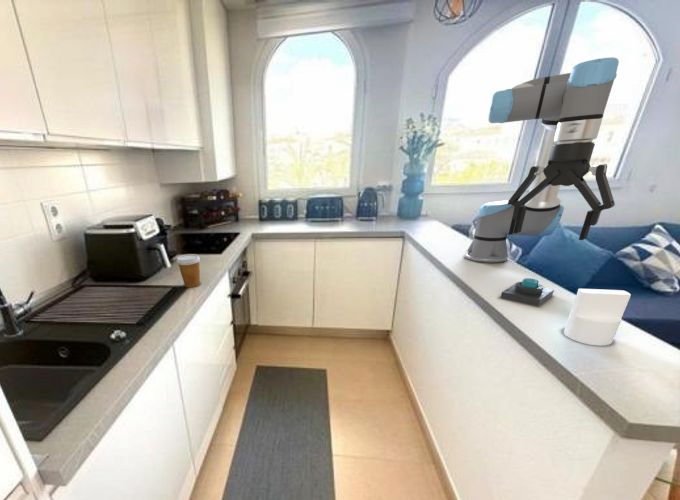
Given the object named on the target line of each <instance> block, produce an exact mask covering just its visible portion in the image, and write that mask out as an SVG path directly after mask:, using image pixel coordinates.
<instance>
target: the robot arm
mask: <svg viewBox="0 0 680 500" xmlns="http://www.w3.org/2000/svg"><path fill="white" fill-rule="evenodd" d="M619 63H620V60H619V59H618V58H617V57H613V56H612V57H601V58H595V59H590V60H585V61H582V62H579V63H577V64H575V65H574V66H573V67H572V69H571V71H570V72H567V73H561V74H555V75H549V76H541V77H537V78H533V79H530V80H527V81H525V82H522V83H520V84H517V85H515V86H513V87H511V88H506V89H504V90H498V91H496V92H494V93H493V94H492V97H491V101H490V106H489V112H488V119H487V120H488V123H490V124H505V123H512V122H523V121H530V120H541V123H540V124H541V125H542V127H544V133H543V136H542V139H541V140H542V141H541V145H540V148H539V152H538V157H537V161H536V165H534V166H531V167H530V168H529V171H528V174H527V176H526V177H525V178H524V180H523V181H522V183H521V184H520V185H519V186H518V188H517V189H516V190H515V192H514V193H513V194H512V196H511V197H510V198H509V199H508V200H497V201H491V202H486V203H484V204H482V205H481V206H480V207H479V209H478V213H477V215H476V217H477V219H476V224H475V229H474V234H473V239H472V241H471V243H470V244H469V246H468V248H467V250H466V251H465V258H466V259H467V260H469V261H472V262H478V263H486V264H489V263H490V264H494V263H495V264H496V263H503V262H507V261H508V256H509V252H508V246H507V238H508V236H526V237H527V236H529V237H548V236H551V235H552V234H553V233H554V232H555V231H556V229H557V228H558V225H559V223H560V222H561V219H562V216H563V214H564V211H565V206H564V205H563V204H561V203H562V200H561V199H560V198H559V197H558V196H559V195H558V194H559V191H560V188H561V186H564V187H570V186H572V185H573V186H574V187H575V188H576V190H578V192H579V193H580V195H581V196H582V197H583V198H584V200H585V201H586V203H587V204H588V206H589V207H590V208H591V209H590V210H587V212H586V215H585V218H584V221H583V225H582V228H581V231H580V234H579V238H578V241H584V240H586V239H587V238H588V235H589V231H590V228H591V226H593V227H594V226H596V225H597V224H598V222H599V220H600V217H601V213H602V211H604V210H609V209H612V208H614V207H615V206H616V203H615V200H614V197H613V194H612V190H611V186H610V184H609V181H608V177H607V170H608V164H607V163H602V164H599V165H597V164H596V165H591V159H592V155H593V153H594V149H595V146H596V145H595V144H596V143H595V142H594V141H593V140H596V139H597V138H598V135H599V132H600V129H601V125H602V122H603V118H604V114H605V110H606V107H607V104H608V100H609V98H610V96H611V95H610V94H611V91H612V88H613V85H614V83H615V79H616V78H617V76H618V74H617V71H618V68H619ZM589 172H591V175H592V176H594V178H595V182H596V185H597V188H598V192H599V195H600V198H601V201H602V203H601V201H600V200H599V199H598V197H597V195H596V194H595V192H593V190H592V189H591V187H590V186H589V185H588V183H587V181H586V180H585V178H584V177H585V176H586V175H587V174H588V173H589ZM528 189H529V191H528V193H526V194H525V195H524V193H525V192H526V190H528ZM523 195H524V196H523ZM522 196H523V197H522Z"/></svg>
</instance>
